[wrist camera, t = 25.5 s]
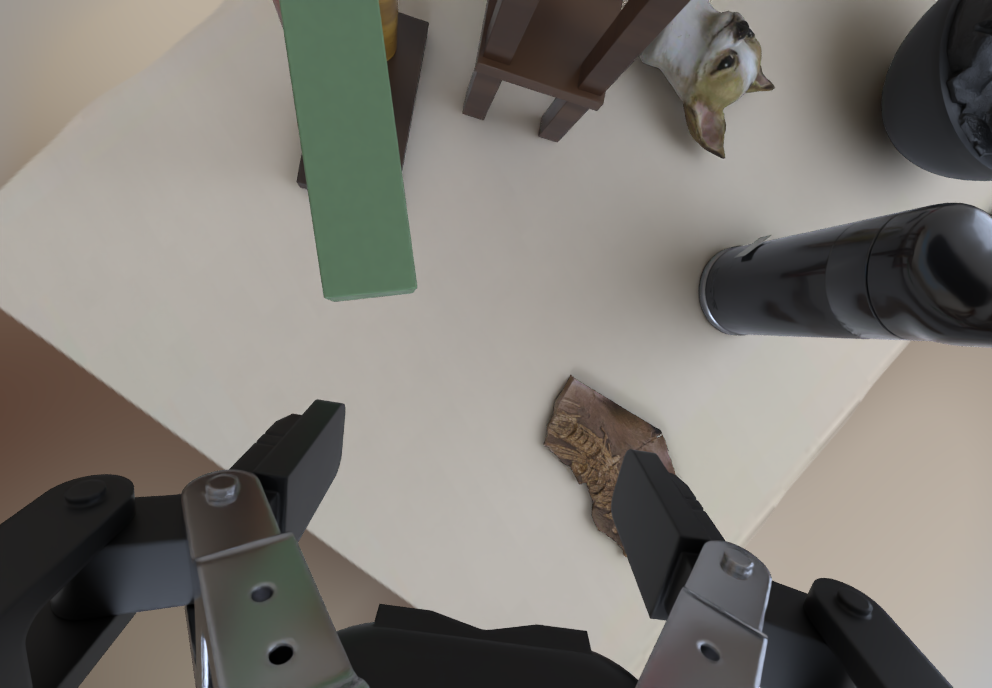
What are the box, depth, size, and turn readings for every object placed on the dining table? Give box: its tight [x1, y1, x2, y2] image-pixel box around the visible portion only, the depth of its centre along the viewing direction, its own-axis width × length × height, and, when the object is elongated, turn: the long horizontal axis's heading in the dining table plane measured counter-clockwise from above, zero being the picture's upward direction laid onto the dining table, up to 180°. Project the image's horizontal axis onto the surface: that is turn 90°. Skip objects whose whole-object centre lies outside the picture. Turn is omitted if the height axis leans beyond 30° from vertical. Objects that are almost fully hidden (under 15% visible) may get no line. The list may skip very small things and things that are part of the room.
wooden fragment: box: [544, 375, 675, 557], centre depth 47 cm, size 26×11×1 cm, turn 32°
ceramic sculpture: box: [641, 0, 775, 159], centre depth 42 cm, size 11×9×15 cm
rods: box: [273, 0, 429, 189], centre depth 28 cm, size 16×8×24 cm, turn 169°
